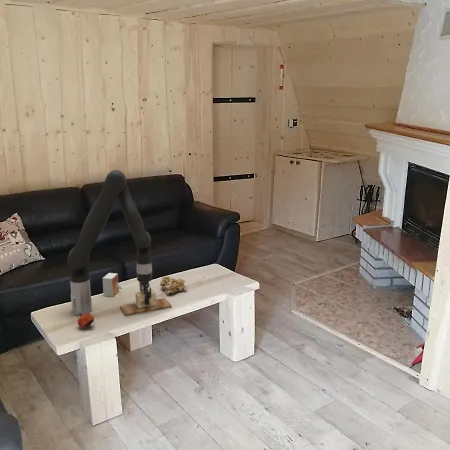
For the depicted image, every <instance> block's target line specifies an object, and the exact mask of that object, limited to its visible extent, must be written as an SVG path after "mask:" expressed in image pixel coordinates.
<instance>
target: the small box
mask: <svg viewBox="0 0 450 450" xmlns="http://www.w3.org/2000/svg"><path fill="white" fill-rule="evenodd" d="M102 290H103V291H102V292H103V296H104V297H112V298H113V297H114V296H115V295H117V293H119V291H120V289H119V274H118V273H113V272H108V273H107V274H106V275H105V276H103V277H102Z"/></svg>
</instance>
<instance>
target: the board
mask: <svg viewBox="0 0 450 450" xmlns="http://www.w3.org/2000/svg"><path fill="white" fill-rule="evenodd" d="M171 308H172V305H171V303H170V302H169V300H167V298H166V297H163V298H158V299H156V306H151V307H146V308H141V309H138V307H137V306H136V302H134V303H131V304H130V303H129V304H124V305H120V306H119V309H120V310H121V313H122V314H123V315H124V317H129V316H134V315H139V314H145V313H149V312H151V313H152V312H156V311H159V310H165V309H171Z"/></svg>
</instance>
